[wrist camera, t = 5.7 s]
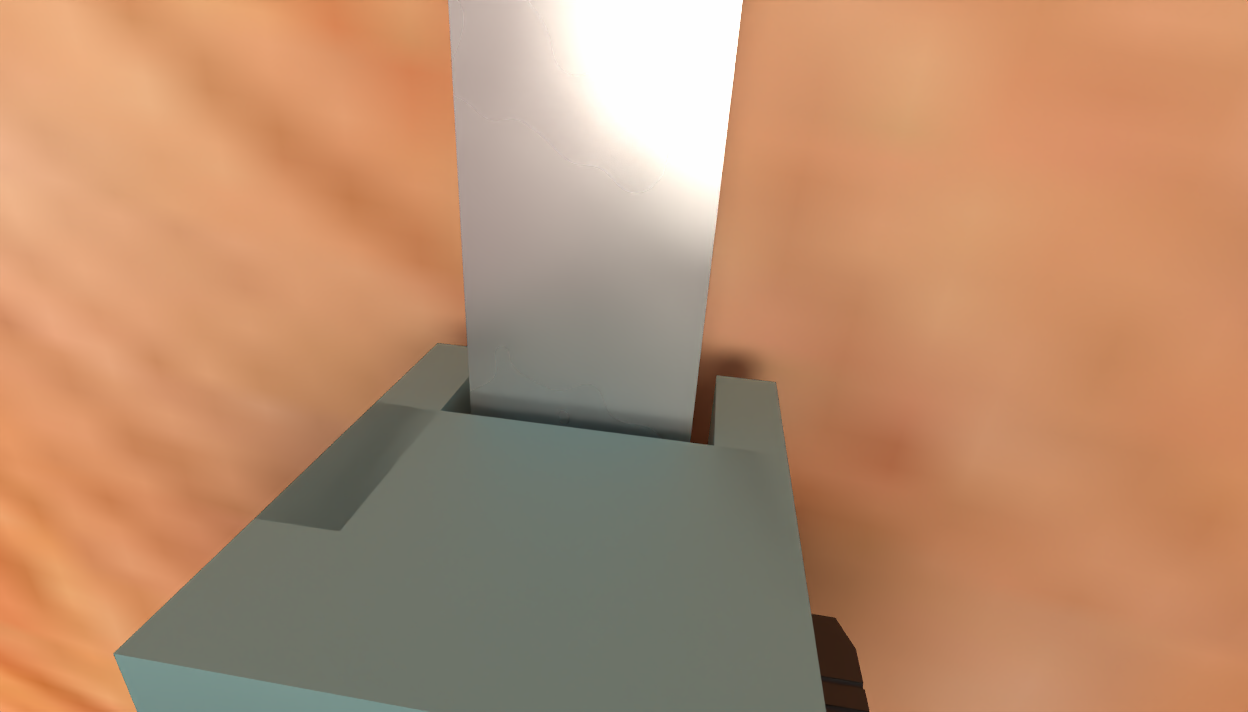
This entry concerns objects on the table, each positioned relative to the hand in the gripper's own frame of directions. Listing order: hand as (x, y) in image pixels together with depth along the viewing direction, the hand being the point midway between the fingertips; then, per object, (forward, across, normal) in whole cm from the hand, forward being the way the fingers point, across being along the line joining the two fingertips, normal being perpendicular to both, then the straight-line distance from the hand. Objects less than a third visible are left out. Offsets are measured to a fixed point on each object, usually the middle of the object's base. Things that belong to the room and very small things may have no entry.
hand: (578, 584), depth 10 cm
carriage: (+1, 0, 0) cm, 1 cm away
